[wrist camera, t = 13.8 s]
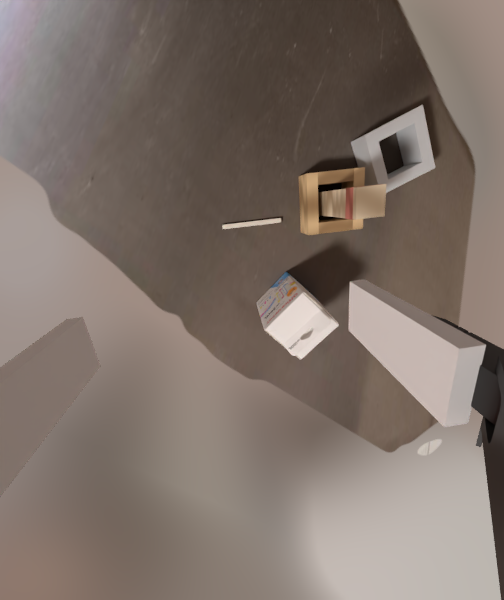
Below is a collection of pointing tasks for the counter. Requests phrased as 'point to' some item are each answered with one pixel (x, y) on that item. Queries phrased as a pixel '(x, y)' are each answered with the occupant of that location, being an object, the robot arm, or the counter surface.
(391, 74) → the counter surface
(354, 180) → the wooden square frame
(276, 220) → the thin white stick
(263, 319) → the ink box
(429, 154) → the grey square frame
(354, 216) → the red-banded tall box
